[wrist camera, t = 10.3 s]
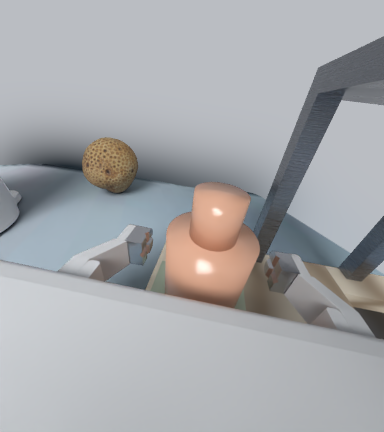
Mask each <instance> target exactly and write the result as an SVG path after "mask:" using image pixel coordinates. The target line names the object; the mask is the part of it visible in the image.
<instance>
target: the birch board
mask: <svg viewBox="0 0 384 432" xmlns="http://www.w3.org/2000/svg"><path fill="white" fill-rule="evenodd" d="M269 258H270V257H269V255H265V257H264V259H263V261H262V263H259V262H255V264H254V267H253V269H252V271H251V273H250V275H249V277H248V280H247V282H246V284H245V286H244V288H243V290H242V293H241V295H240V297H239V299H238V301H237V304H236V306H235V308H234V309H239V310H244V311H249V312H253V313H258V314H263V315H268V316H273V317H277V318H282V319H287V320H292V321H297V322H301V323H306V324H307V322H306V321H305V320H304V319H303V317H302V316H301V315H300V314H299V313H298V311H297V310H296V309H295V308H294V306H293V305H292V304H291V303H290V301H289V300H288V299H287V298H286V297H285V295H284V294H282V293H277V292H273V291H270V290H269V287H268V283H267V280H268V277H267V276H266V275H265V272H264V265H265V262H266V260H268V259H269ZM302 262H303V261H302ZM303 263H304V265H305V267H306V269H307V270H308V272H309V274H310V276H311V277H314V278H316V279H317V280H318V281H319V282H321V283H322V284H323V285H324V286H326V287H327V288H328V289H329V290H331V291H332V292H333V293H334V294H336V295H337V296H338V297H339V298H341V299H342V300H343V301H344V302H346V303H347V304H348V305H349V306H351V307H352V308H353V309H355V310H356V311H357V312H358V313H359V314H360V315H361V317H362V318H363V320H364V321H365V323H366V324H367V325H368V327H369V328H370V330H371V331H372V333H373V334H374V335H375V337H376V338H378V339H383V340H384V276H379V275H373V274H369V275H368V276H367V277H366V278H365V279H364V280H363V281H362V282H360V281H354V280H349V279H346V278H345V276H344V275H343V274H342V272H341V271H340V270H339V268H335V267H330V266H325V265H319V264H314V263H308V262H303ZM165 264H166V243H165V245H164V247H163V250H162V252H161V254H160V257H159V259H158V261H157V264H156V266H155V268H154V270H153V273H152V275H151V277H150V280H149V282H148V284H147V287H146V289H145V290H148V291H153V292H157V293H162V294H165Z"/></svg>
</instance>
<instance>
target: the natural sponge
mask: <svg viewBox="0 0 384 432" xmlns="http://www.w3.org/2000/svg"><path fill="white" fill-rule="evenodd" d="M82 167H83V173H84V176H85V177H86V179H87V180H88V181H89V182H90V183H91V184H93V185H95V186H97V187H100V188H104V189H107V190H109V191H111V192H114V193H120V192H123V191H124V190H126V189H127V188H128V187H129V186H130V185H131V183H132V182H133V180H134V178H135V176H136V173H137V169H138V162H137V158H136V155H135V153H134V152H133V150H132V149H131V148H130V147H129V146H128V145H127V144H125V143H124V142H122V141H120V140H118V139H113V138H100V139H98V140H96V141H94V142H93V143H92V144H90V145H89V146H88V147H87V149H86V150H85V152H84V155H83V161H82Z"/></svg>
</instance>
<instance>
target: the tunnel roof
mask: <svg viewBox="0 0 384 432" xmlns="http://www.w3.org/2000/svg"><path fill="white" fill-rule="evenodd" d="M341 100H346V101H354V102H362V103H370V104H378V105H384V37H382V38H380V39H377V40H375V41H373V42H371V43H369V44H367V45H365V46H363V47H361V48H359V49H357V50H355V51H352V52H350V53H348V54H346V55H344V56H342V57H340V58H338V59H335V60H333V61H331V62H329V63H327V64H325V65H323V66H321V67H319V68H318V70H317V72H316V75H315V77H314V80H313V83H312V85H311V88H310V90H309V93H308V95H307V98H306V101H305V103H304V106H303V108H302V111H301V113H300V115H299V118H298V121H297V123H296V126H295V128H294V131H293V133H292V136H291V138H290V141H289V143H288V146H287V148H286V151H285V153H284V156H283V159H282V161H281V164H280V166H279V169H278V171H277V174H276V176H275V179H274V182H273V184H272V187H271V189H270V192H269V194H268V197H267V199H266V202H265V204H264V207H263V209H262V212H261V214H260V217H259V219H258V222H257V224H256V227H255V230H254V232H253V233H254V234H255V235H256V237H257V239H258V241H259V245H260V252H259V256H258V258H257V260H256V262H259V263H262V261H263V259H264V257H265V255H266V253H267V251H268V249H269V247H270V245H271V242H272V240H273V238H274V236H275V234H276V232H277V230H278V228H279V226H280V224H281V222H282V220H283V218H284V216H285V214H286V212H287V210H288V208H289V206H290V203H291V202H292V200H293V197H294V195H295V193H296V191H297V189H298V187H299V185H300V183H301V181H302V179H303V177H304V175H305V173H306V171H307V169H308V167H309V165H310V163H311V161H312V159H313V156H314V155H315V153H316V151H317V148H318V146H319V144H320V142H321V140H322V138H323V136H324V134H325V132H326V130H327V128H328V126H329V124H330V122H331V120H332V118H333V116H334V114H335V112H336V110H337V107H338V106H339V103H340V102H341ZM383 261H384V216H383V217H382V218H381V220H380V221H379V222H378V223H377V224H376V225H375V226H374V228H373V229H372V230H371V231H370V232H369V233H368V234H367V236H366V237H365V238H364V239H363V240H362V241H361V242H360V244H359V245H358V246H357V247H356V248H355V249H354V250H353V252H352V253H351V254H350V255H349V256H348V257H347V258H346V260H345V261H344V262H343V263H342V264H341V265H340V266H339V270H340V271H341V272H342V274H343V275H344V276H345V278H346V279H349V280H354V281H360V282H362V281H363V280H364V279H365V278H366V277H367V276H368V275H369V274H370V273H371V272H372V271H373V270H374V269H375V268H376V267H377V266H378V265H380V264H381V263H382V262H383Z"/></svg>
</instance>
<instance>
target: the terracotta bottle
mask: <svg viewBox="0 0 384 432" xmlns="http://www.w3.org/2000/svg"><path fill="white" fill-rule="evenodd" d="M250 201H251V198H250V196H249V194H248V193H247V192H245V191H244V190H242V189H240V188H238V187H236V186H233V185H230V184H225V183H219V182H206V183H201V184H199V185H197V186H196V187H195V190H194V198H193V206H192V212H187V213H184V214H182V215H180V216H178V217H176V218H175V219H174V220H173V221H172V222H171V223H170V224H169V226H168V229H167V234H166V264H165V294H167V295H172V296H177V297H181V298H186V299H191V300H196V301H201V302H205V303H210V304H215V305H220V306H225V307H229V308H235V306H236V304H237V301H238V299H239V297H240V295H241V293H242V290H243V288H244V286H245V284H246V282H247V280H248V277H249V275H250V273H251V271H252V269H253V267H254V264H255V262H256V260H257V258H258V256H259V252H260V245H259V241H258V239H257V237H256V235H255V234H254V233H253V231H252V230H251V229H250V228H249V227H248V226H246V225H245V224H244V223H243V221H244V218H245V215H246V212H247V209H248V206H249V204H250Z"/></svg>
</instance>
